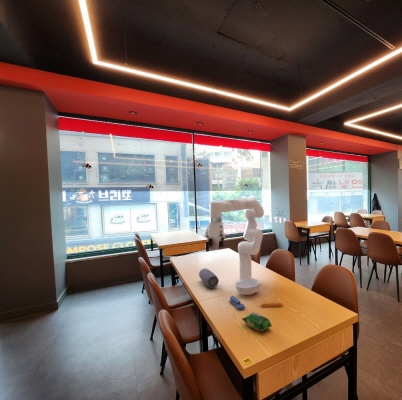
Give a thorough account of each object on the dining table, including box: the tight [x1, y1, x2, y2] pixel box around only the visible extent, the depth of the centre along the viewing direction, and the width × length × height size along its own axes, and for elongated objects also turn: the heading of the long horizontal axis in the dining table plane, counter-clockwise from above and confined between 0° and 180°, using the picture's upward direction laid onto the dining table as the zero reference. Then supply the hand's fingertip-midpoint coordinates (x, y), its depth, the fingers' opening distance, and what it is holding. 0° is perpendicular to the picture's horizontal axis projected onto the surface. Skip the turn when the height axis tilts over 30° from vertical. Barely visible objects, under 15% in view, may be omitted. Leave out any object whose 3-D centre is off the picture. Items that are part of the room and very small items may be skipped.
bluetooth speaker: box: [198, 267, 219, 288], centre depth 173 cm, size 23×9×10 cm, turn 35°
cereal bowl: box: [235, 278, 261, 296], centre depth 157 cm, size 17×17×7 cm
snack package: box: [241, 312, 272, 333], centre depth 115 cm, size 7×16×5 cm, turn 52°
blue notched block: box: [229, 295, 245, 311], centre depth 139 cm, size 14×4×3 cm, turn 38°
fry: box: [261, 301, 282, 308], centre depth 138 cm, size 12×2×2 cm, turn 93°
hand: (215, 246), depth 149 cm, fingers open, 9 cm apart
